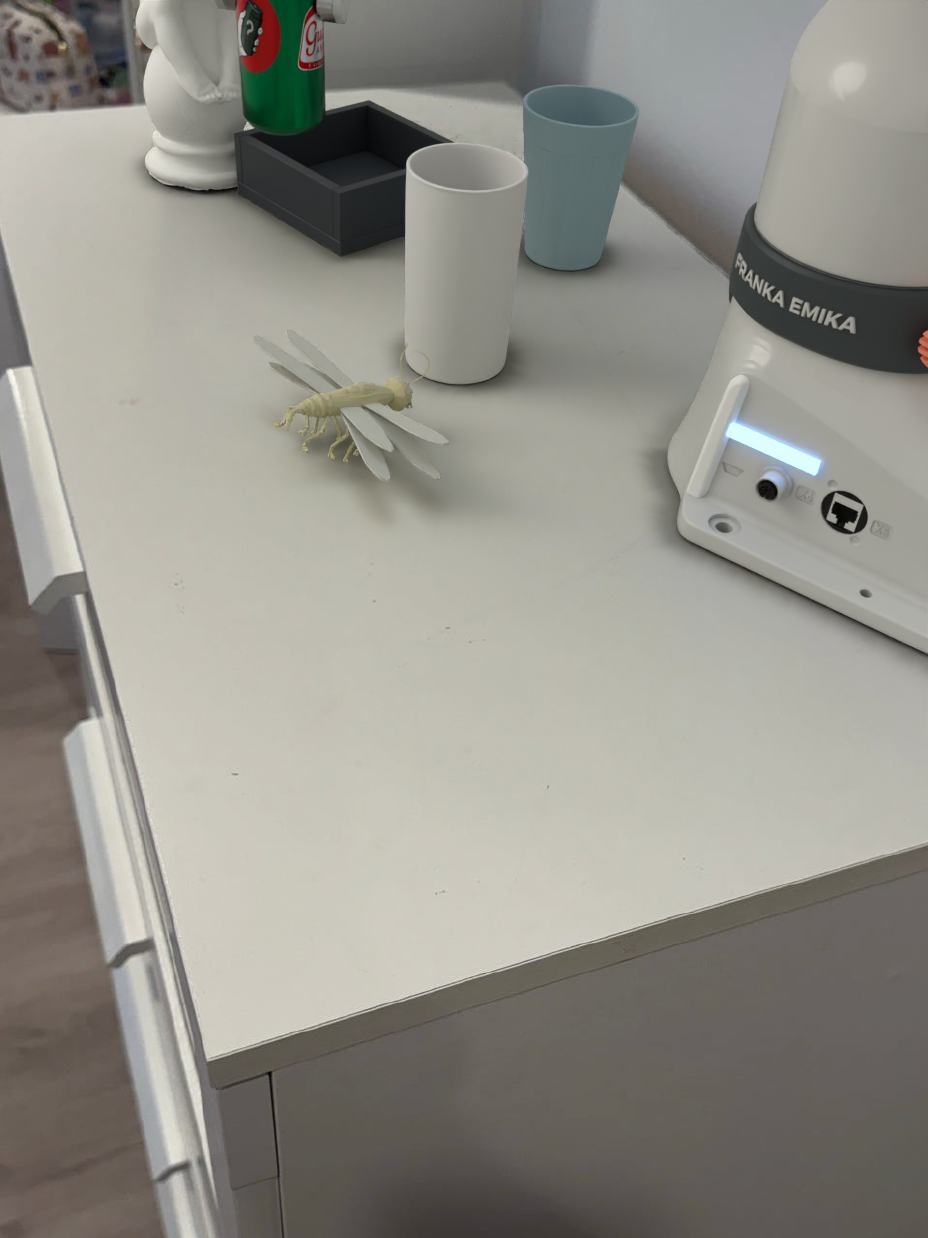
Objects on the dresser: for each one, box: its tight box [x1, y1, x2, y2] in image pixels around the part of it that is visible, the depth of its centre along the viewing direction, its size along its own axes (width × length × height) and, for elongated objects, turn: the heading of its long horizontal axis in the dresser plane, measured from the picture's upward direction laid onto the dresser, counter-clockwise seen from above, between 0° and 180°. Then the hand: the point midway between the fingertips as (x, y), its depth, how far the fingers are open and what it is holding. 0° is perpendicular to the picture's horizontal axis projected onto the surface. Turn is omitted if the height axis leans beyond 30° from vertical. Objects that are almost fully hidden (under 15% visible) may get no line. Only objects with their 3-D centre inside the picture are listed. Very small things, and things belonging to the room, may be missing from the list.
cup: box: [522, 84, 640, 271], centre depth 81 cm, size 8×8×10 cm
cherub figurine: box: [135, 0, 248, 191], centre depth 84 cm, size 12×12×22 cm
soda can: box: [235, 0, 327, 136], centre depth 68 cm, size 5×5×12 cm
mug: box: [404, 142, 528, 385], centre depth 70 cm, size 10×7×12 cm, turn 5°
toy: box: [252, 328, 451, 483], centre depth 63 cm, size 15×9×5 cm, turn 39°
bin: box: [234, 99, 456, 257], centre depth 87 cm, size 13×13×4 cm
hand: (279, 11), depth 68 cm, fingers closed on soda can, 5 cm apart
